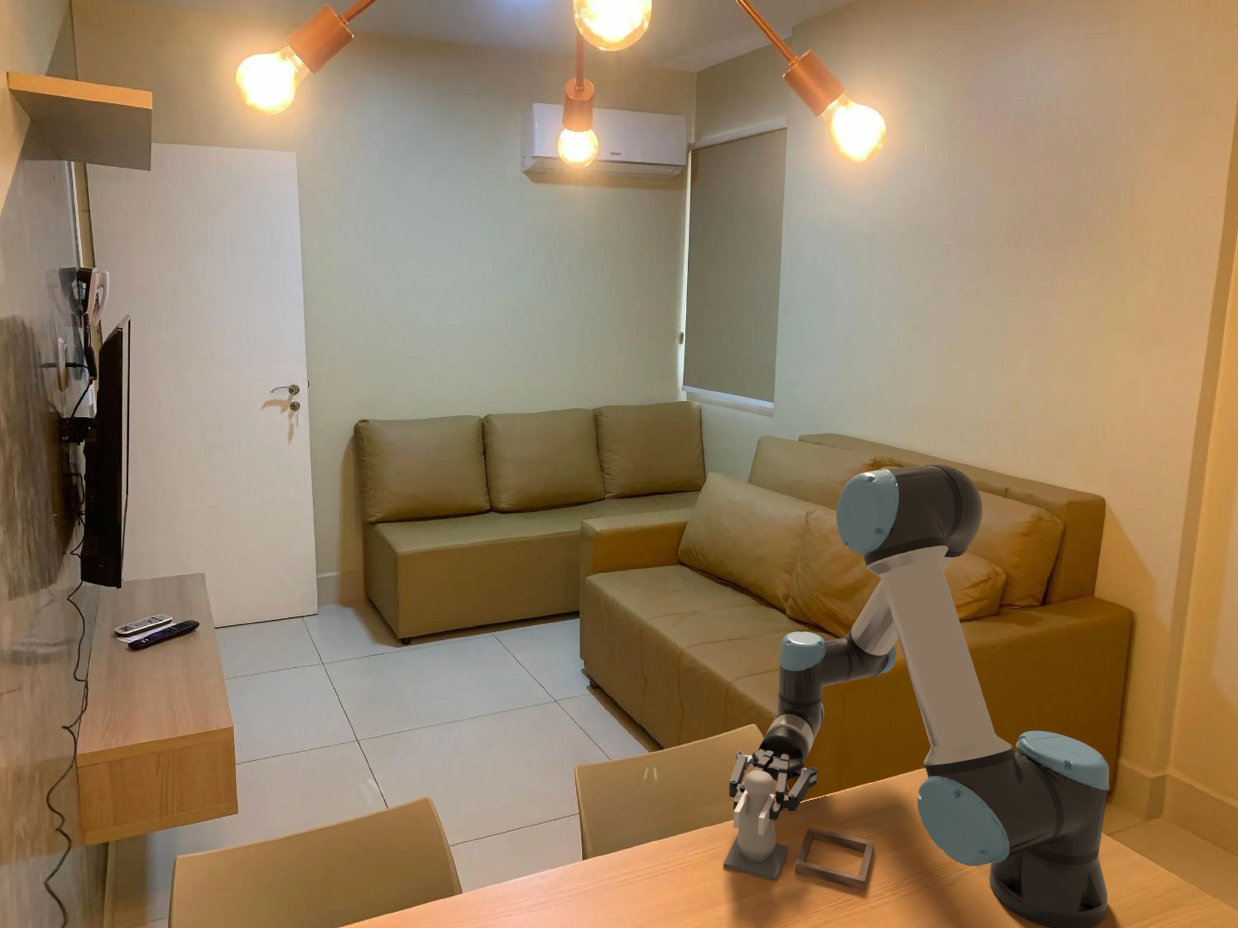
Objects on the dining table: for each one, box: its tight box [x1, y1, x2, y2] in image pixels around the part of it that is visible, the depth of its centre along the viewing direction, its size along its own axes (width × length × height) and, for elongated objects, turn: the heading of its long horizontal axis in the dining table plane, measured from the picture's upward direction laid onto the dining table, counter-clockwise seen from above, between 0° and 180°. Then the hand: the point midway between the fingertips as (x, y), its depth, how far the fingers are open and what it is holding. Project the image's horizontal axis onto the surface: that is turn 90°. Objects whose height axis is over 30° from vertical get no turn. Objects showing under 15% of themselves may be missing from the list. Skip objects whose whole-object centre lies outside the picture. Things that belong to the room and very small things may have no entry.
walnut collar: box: [794, 825, 875, 891], centre depth 136 cm, size 10×10×2 cm
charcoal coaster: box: [723, 836, 790, 882], centre depth 136 cm, size 8×8×1 cm
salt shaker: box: [736, 770, 777, 862], centre depth 135 cm, size 6×6×13 cm
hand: (748, 822), depth 130 cm, fingers closed on salt shaker, 3 cm apart
